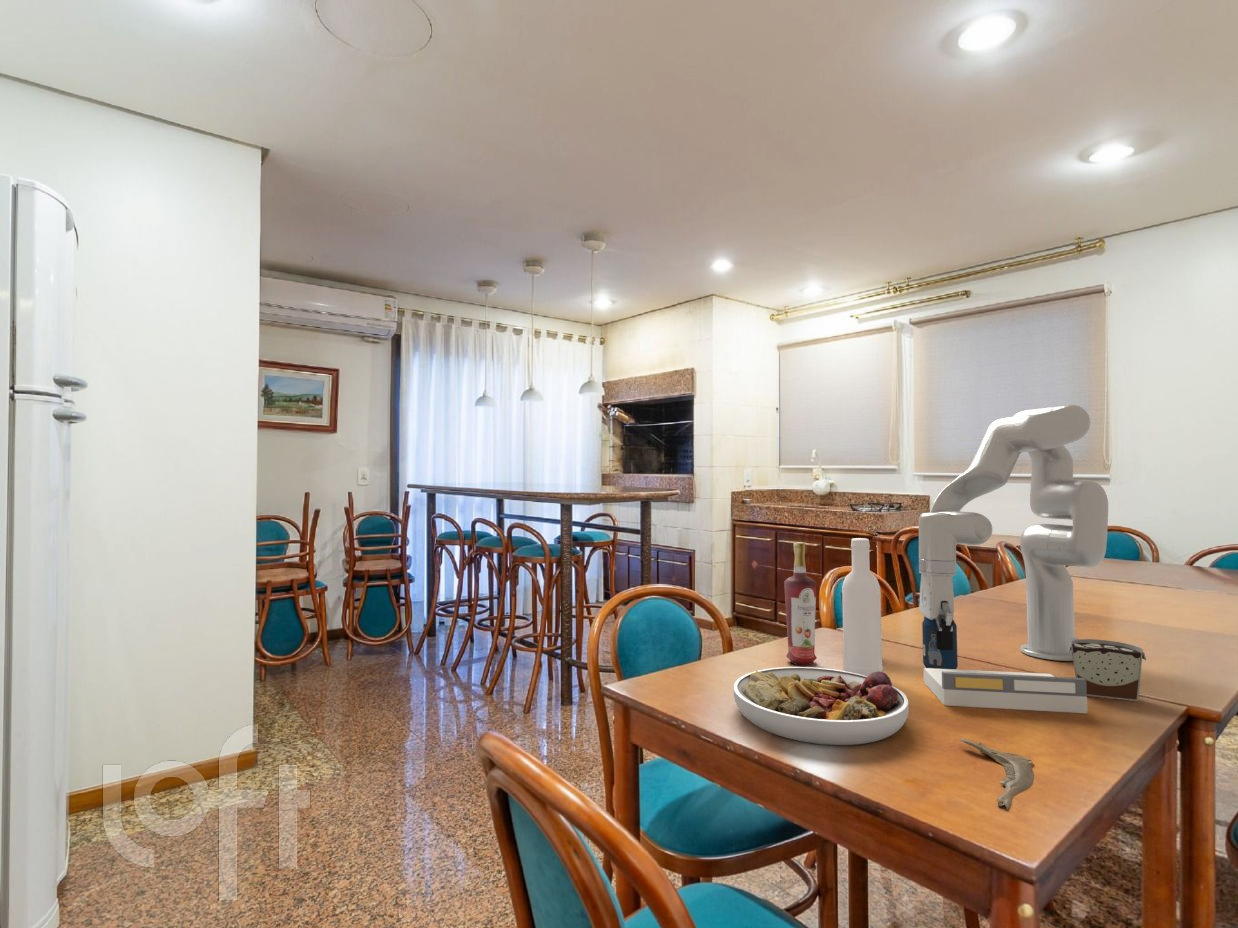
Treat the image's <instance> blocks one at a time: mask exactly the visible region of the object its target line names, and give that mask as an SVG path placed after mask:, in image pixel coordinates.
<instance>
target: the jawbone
mask: <svg viewBox="0 0 1238 928" xmlns="http://www.w3.org/2000/svg"><path fill="white" fill-rule="evenodd" d="M958 739H959V740H960V742H962V743H964V744H966V745H969V746H971V747H973V748H975V749H977V750H978V751H979V752H980V753H982V754H984V755H987V756H989V757H990V758H991V759H993V760H995V762H996V763H998V764H1000V765H1002V766H1003V767H1004V769H1005V770H1004V771H1005V774H1006V777H1004V778H1003V779H1002V780H1001V781H1000V782H999V784H1001V786H1004V787H1005V789H1004V792H1003V794H1001V795H999V796H998V797H997V799H996V801H997V808H1000V809H1003V810H1005V811H1008V810H1009V809H1010V808H1011V806H1012V801H1013V800H1014V799H1013V798H1014V797H1016V796H1017V795H1019V794H1020V793H1023V792H1024V791H1026V790H1028V789H1029V788H1031V786H1033V784H1034V780H1035V773H1034V772H1033V769H1032V767H1034V762H1033V761H1032V760H1031V759H1029V758H1028V757H1025V756H1022V755H1019V754H1016V753H1013V752H1002V751H999V750H996V749H993V748H989V747H987V746H986V745H985V744H983V743H981V742H978V743H976V742H974V741H970V740H968V739H965V738H964V737H960V738H958Z"/></svg>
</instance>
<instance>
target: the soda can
mask: <svg viewBox="0 0 1238 928" xmlns="http://www.w3.org/2000/svg"><path fill="white" fill-rule="evenodd" d="M940 622H941V621H940ZM952 622H953V625H952V627H953V650H940V649H937V648H936V630H938V628H937V623H936V618H934V619H933V620H930V619H928V618H927V617H925V619H924V618H923V620H922V623H921V624H922V625H921V627H922V664H923V666H924V668H934V669H956V670H958V665H959V664H958V633H957V632H958V630H957V629H958V628H957V627H958V626H957V624H956V622H955V620H954V618H953V619H952ZM941 624H942V622H941Z"/></svg>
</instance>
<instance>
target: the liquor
mask: <svg viewBox="0 0 1238 928" xmlns="http://www.w3.org/2000/svg"><path fill="white" fill-rule="evenodd" d="M793 553H794V563H793V575H792V576H789V577H788V578H786V579H785V580H784V581H783V584H784V585H783V587H784V600H785V602H784V603H785V614H786V615H785V617H786V629H787V630H786V631H787V650H788V651H787V654H786V658H787V659H788V660H789V661H790V662H791V663H793V664H795V665H799V666H810V665H811V664H813V663H814V662H815V661H816V659H817V655H816V653H815V646H816V645H815V637H816V636H815V632H816V631H815V630H816V610H817V609H816V606H817V603H816V602H817V581H815V580H814V579H813V578H811V577H809V576H807V569H806V568H807V567H806V560H805V559H806V557H805V556H806V542H794V543H793ZM809 664H810V665H809Z"/></svg>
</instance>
